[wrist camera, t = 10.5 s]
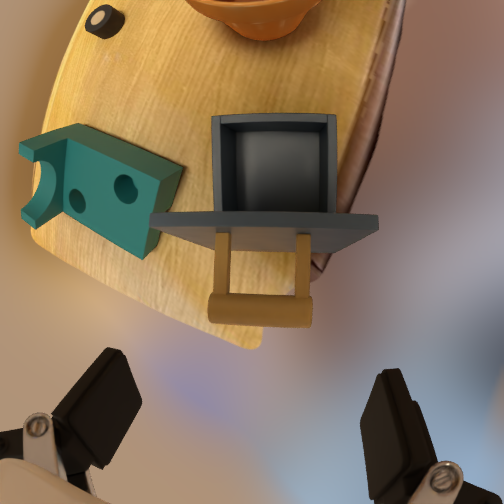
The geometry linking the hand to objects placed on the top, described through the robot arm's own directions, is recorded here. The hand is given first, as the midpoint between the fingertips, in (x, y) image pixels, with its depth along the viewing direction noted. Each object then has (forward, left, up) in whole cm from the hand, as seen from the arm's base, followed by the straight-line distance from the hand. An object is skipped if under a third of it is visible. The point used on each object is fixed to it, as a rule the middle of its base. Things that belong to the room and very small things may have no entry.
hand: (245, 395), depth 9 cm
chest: (-6, 0, -25) cm, 25 cm away
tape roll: (-31, -23, -25) cm, 46 cm away
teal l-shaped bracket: (-6, -22, -25) cm, 33 cm away
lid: (-3, 0, -11) cm, 11 cm away
